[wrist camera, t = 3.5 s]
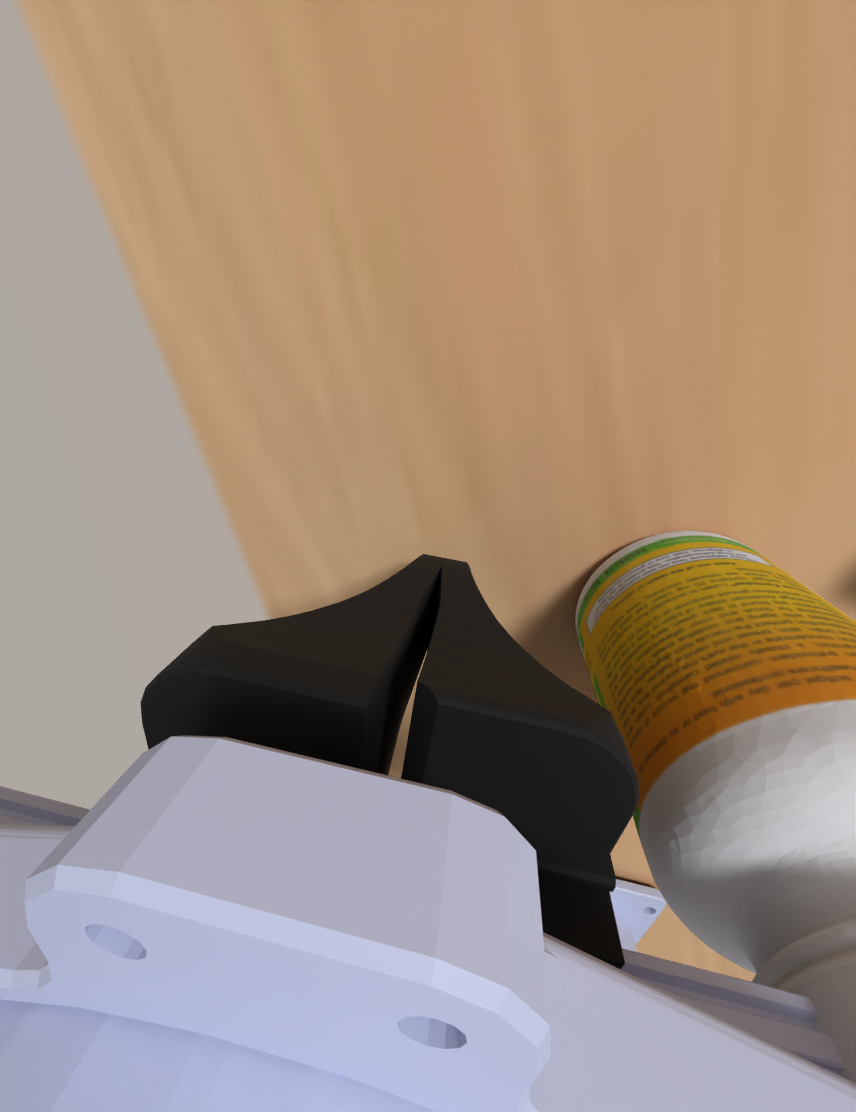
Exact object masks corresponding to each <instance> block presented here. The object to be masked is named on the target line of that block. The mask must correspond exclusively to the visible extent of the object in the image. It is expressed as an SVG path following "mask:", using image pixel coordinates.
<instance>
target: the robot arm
mask: <svg viewBox="0 0 856 1112" xmlns="http://www.w3.org/2000/svg"><path fill="white" fill-rule="evenodd" d="M427 648H428V649H427ZM426 651H427V655H426V658H425V661H424V664H423V667H422V670H421V673H420V676H419V678H418V681H417V687H416V693H415V699H414V705H413V711H412V717H411V723H410V729H409V735H408V741H407V747H406V753H405V759H404V765H403V771H402V777H401V779H400V778H396V777H391V776H388V773H389V769H390V765H391V761H392V757H393V753H394V749H395V745H396V741H397V737H398V733H399V729H400V725H401V722H402V719H403V715H404V712H405V709H406V707H407V704H408V701H409V698H410V696H411V693H412V690H413V687H414V684H415V682H416V679H417V676H418V673H419V671H420V668H421V665H422V662H423V659H424V657H425V654H426ZM141 713H142V723H143V728H144V732H145V736H146V740H147V745H148V749H149V750H148V751H146V752H144V753H143V754H141V756H140V757H139V758H138V759H137V760H136V761H135V762H134V763H133V764H132V765H131V766H130V767H129V769H128V770H127V771H126V772H125V773H124V774H123V775H122V776H121V777H120V778H119V779H118V780H117V782H116V783H115V784H114V785H113V786H112V787H111V788H110V789H109V790H108V791H107V792H106V794H105V795H104V796H103V797H102V798H101V799H100V800H99V801H98V802H97V803H96V804H95V805H94V806H93V808H92V809H91V810H89V809H85V808H82V807H78V806H74V805H70V804H66V803H62V802H59V801H55V800H51V799H47V798H43V797H39V796H35V795H31V794H28V793H24V792H20V791H16V790H12V789H9V788H5V787H1V786H0V1112H856V1083H854V1082H852V1081H850V1080H848V1079H846V1078H843V1077H841V1076H840V1074H839V1072H838V1071H840V1070H842V1069H844V1064H843V1062H842V1060H841V1058H840V1056H839V1054H838V1052H837V1050H836V1048H835V1046H834V1044H833V1042H832V1040H831V1038H830V1036H829V1035H827V1034H824V1033H822V1032H819V1031H817V1029H816V1027H815V1025H814V1022H815V1019H816V1016H817V1011H816V1009H815V1007H814V1005H813V1003H812V1001H811V1000H810V998H808V997H807V996H803V995H800V994H796V993H792V992H788V991H784V990H780V989H777V988H773V987H769V986H765V985H761V984H757V983H754V982H750V981H746V980H742V979H738V978H734V977H730V976H727V975H723V974H719V973H715V972H711V971H707V970H704V969H700V968H696V967H692V966H688V965H684V964H681V963H677V962H673V961H669V960H665V959H661V958H658V957H654V956H650V955H646V954H642V953H638V952H637V948H636V944H637V943H638V941H639V940H640V939H641V937H642V936H643V935H644V934H645V932H646V931H647V930H648V928H649V927H650V926H651V925H652V923H653V922H654V921H655V920H656V918H657V917H658V916H659V914H660V913H661V912H662V911H663V909H664V908H665V907H666V901H665V899H664V897H663V896H662V894H661V892H660V891H659V890H658V889H655V888H651V887H647V886H643V885H639V884H635V883H631V882H627V881H623V880H619V879H616V877H615V873H614V869H613V865H612V861H611V856H610V853H611V851H612V850H613V848H614V846H615V844H616V843H617V841H618V839H619V838H620V836H621V834H622V833H623V831H624V829H625V827H626V826H627V824H628V822H629V821H630V819H631V817H632V816H633V814H634V811H635V808H636V806H637V803H638V800H639V784H638V778H637V775H636V772H635V769H634V766H633V763H632V760H631V757H630V754H629V752H628V749H627V747H626V744H625V742H624V739H623V737H622V735H621V733H620V731H619V728H618V726H617V724H616V722H615V720H614V718H613V715H612V713H611V712H610V711H609V710H607V709H606V708H604V707H602V706H601V705H599V704H597V703H596V702H594V701H593V700H591V699H589V698H588V697H586V696H585V695H583V694H581V693H580V692H578V691H576V690H575V689H573V688H572V687H570V686H569V685H567V684H566V683H564V682H563V681H562V680H560V679H559V678H558V677H556V676H555V675H554V674H552V673H551V672H550V671H548V670H547V669H546V668H545V667H543V666H542V665H541V664H540V663H538V662H537V661H536V660H535V659H534V658H533V657H532V656H530V655H529V654H528V653H527V652H526V651H525V650H524V649H523V648H522V647H521V646H520V645H519V644H518V643H517V642H516V641H515V640H514V639H513V638H512V637H511V636H510V635H509V634H508V632H507V631H506V630H505V629H504V628H503V627H502V626H501V624H500V623H499V622H498V621H497V619H496V618H495V616H494V615H493V613H492V612H491V610H490V609H489V607H488V605H487V604H486V602H485V600H484V599H483V597H482V595H481V593H480V591H479V589H478V587H477V585H476V583H475V581H474V578H473V576H472V573H471V570H470V567H469V565H468V564H467V562H462V561H457V560H452V559H446V558H441V557H436V556H431V555H426V554H423V555H421V556H420V557H418V558H417V559H415V560H414V561H413V562H411V563H410V564H409V565H407V566H406V567H405V568H403V569H402V570H401V571H399V572H398V573H396V574H395V575H393V576H392V577H390V578H389V579H387V580H385V581H384V582H382V583H380V584H378V585H377V586H375V587H373V588H371V589H369V590H367V591H365V592H363V593H361V594H359V595H356V596H354V597H352V598H349V599H347V600H344V601H342V602H339V603H336V604H332V605H329V606H326V607H323V608H319V609H316V610H313V611H309V612H305V613H301V614H297V615H292V616H287V617H282V618H277V619H271V620H265V621H258V622H248V623H239V624H230V625H219V626H212V627H211V628H210V629H209V630H207V631H206V632H205V633H204V634H203V635H201V636H200V637H199V638H198V639H197V640H196V641H195V642H193V643H192V644H191V645H190V646H189V647H188V648H187V649H185V650H184V651H183V652H182V653H181V654H180V655H179V656H178V657H177V658H176V659H175V660H173V661H172V662H171V663H170V664H169V665H168V666H167V667H166V668H165V669H164V670H162V671H161V672H160V673H159V674H158V675H157V676H156V677H155V678H154V679H153V680H152V681H151V682H150V683H149V685H148V686H147V687H146V688H145V691H144V694H143V697H142V700H141Z"/></svg>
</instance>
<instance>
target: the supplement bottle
mask: <svg viewBox="0 0 856 1112" xmlns="http://www.w3.org/2000/svg"><path fill="white" fill-rule="evenodd" d="M575 624H576V632H577V637H578V641H579V645H580V648H581V652H582V655H583V657H584V661H585V663H586V667H587V670H588V673H589V676H590V680H591V683H592V686H593V689H594V692H595V695H596V698H597V701H598V704H599V705H601V706H602V707H604V708H606V709H607V710H609V711H610V712H611V713H612V715H613V718H614V720H615V722H616V724H617V726H618V728H619V731H620V733H621V735H622V737H623V739H624V742H625V744H626V747H627V749H628V752H629V754H630V757H631V760H632V763H633V766H634V769H635V772H636V775H637V778H638V784H639V800H638V803H637V806H636V808H635V811H634V814H633V818H634V821H635V825H636V828H637V831H638V835H639V838H640V841H641V844H642V847H643V850H644V853H645V856H646V859H647V862H648V864H649V867H650V870H651V873H652V876H653V878H654V881H655V883H656V885H657V887H658V888H659V890H660V892H661V894H662V896H663V897H664V899H665V900H666V902H667V903H668V905H669V907H670V908H671V909H672V910H673V912H674V913H675V914H676V915H677V917H678V918H679V919H680V920H681V921H682V922H683V923H684V924H685V926H686V927H687V928H688V929H689V930H690V931H691V932H692V933H693V934H694V935H696V936H697V937H698V938H699V939H700V940H701V941H703V942H704V943H705V944H706V945H707V946H709V947H710V948H711V949H713V950H714V951H716V952H717V953H719V954H720V955H722V956H723V957H725V958H727V959H728V960H730V961H732V962H733V963H735V964H737V965H739V966H741V967H743V968H745V969H747V970H749V971H751V972H754V973H756V976H755V978H754V979H753V981H752V982H754V983H757V984H761V985H765V986H769V987H773V988H777V989H780V990H784V991H788V992H792V993H796V994H800V995H803V996H807V997H808V998H810V1000H811V1001H812V1003H813V1005H814V1007H815V1009H816V1011H817V1016H816V1019H815V1022H814V1025H815V1027H816V1029H817V1031H819V1032H822V1033H824V1034H827V1035H829V1036H830V1038H831V1040H832V1042H833V1044H834V1046H835V1048H836V1050H837V1052H838V1054H839V1056H840V1058H841V1060H842V1062H843V1064H844V1069H842V1070H840V1071H838V1072H839V1074H840V1076H841V1077H843V1078H846V1079H848V1080H850V1081H852V1082H854V1083H856V621H854V620H853V619H852V618H850V617H849V616H847V615H846V614H845V613H843V612H842V611H840V610H839V609H838V608H836V607H835V606H833V605H832V604H830V603H829V602H828V601H826V600H825V599H823V598H822V597H821V596H819V595H818V594H816V593H815V592H813V591H812V590H811V589H809V588H808V587H806V586H805V585H804V584H802V583H801V582H799V581H798V580H796V579H795V578H794V577H792V576H791V575H789V574H788V573H786V572H785V571H783V570H782V569H781V568H779V567H778V566H777V565H775V564H774V563H772V562H771V561H769V560H768V559H766V558H765V557H763V556H762V555H760V554H759V553H757V552H756V551H754V550H753V549H751V548H750V547H748V546H746V545H745V544H743V543H741V542H738V541H736V540H734V539H731V538H728V537H725V536H722V535H718V534H713V533H707V532H699V531H676V532H667V533H662V534H658V535H654V536H650V537H647V538H644V539H641V540H639V541H637V542H634V543H632V544H630V545H628V546H627V547H625V548H623V549H621V550H620V551H618V552H617V553H615V554H614V555H612V556H611V557H610V558H608V559H607V560H606V561H605V562H604V563H602V564H601V565H600V566H599V567H598V568H597V570H596V571H595V572H594V573H593V574H592V575H591V577H590V578H589V580H588V581H587V583H586V585H585V586H584V588H583V590H582V592H581V595H580V597H579V600H578V603H577V608H576V616H575Z"/></svg>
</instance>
